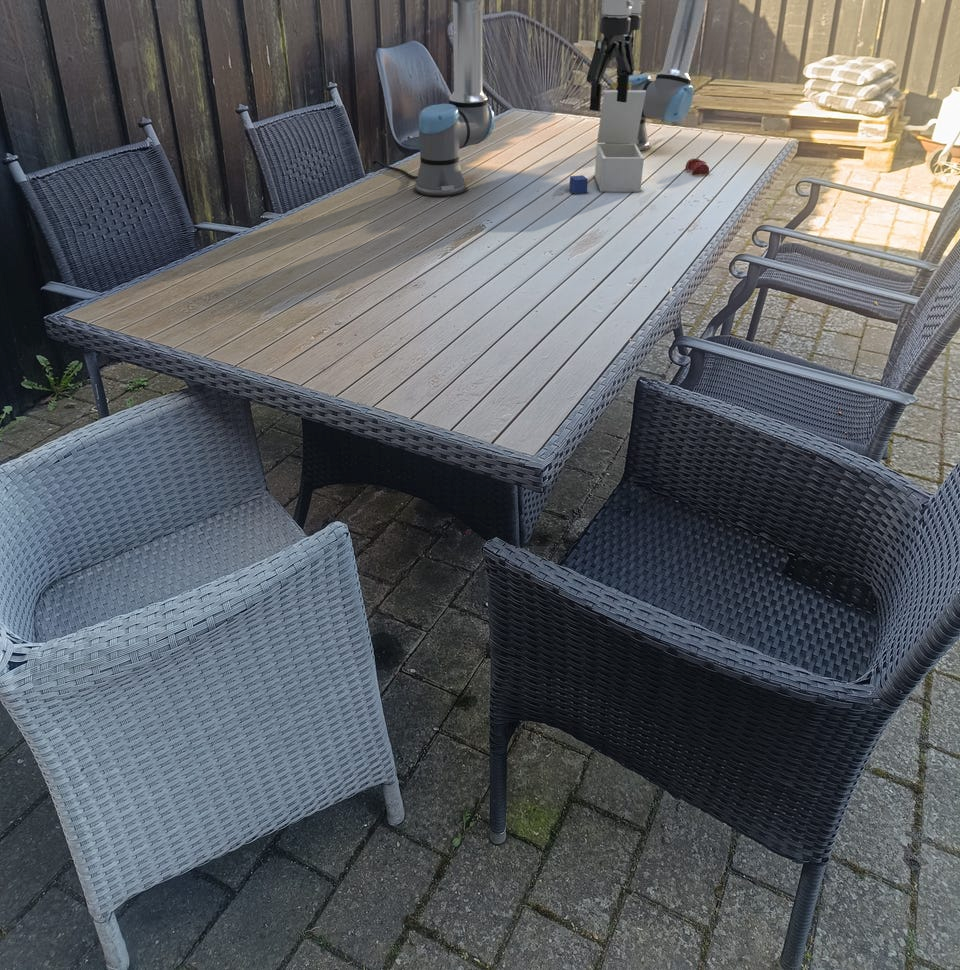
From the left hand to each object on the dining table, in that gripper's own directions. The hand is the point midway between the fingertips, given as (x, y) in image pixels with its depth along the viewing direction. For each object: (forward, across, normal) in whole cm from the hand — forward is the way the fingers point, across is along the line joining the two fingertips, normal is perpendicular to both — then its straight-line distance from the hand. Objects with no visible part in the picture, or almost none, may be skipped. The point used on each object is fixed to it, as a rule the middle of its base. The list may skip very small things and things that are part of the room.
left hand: (608, 106), depth 226 cm
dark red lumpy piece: (+28, +53, -4) cm, 60 cm away
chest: (+28, +26, +10) cm, 40 cm away
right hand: (+6, +33, +16) cm, 37 cm away
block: (+28, +11, +15) cm, 34 cm away
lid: (+10, +29, +13) cm, 33 cm away
